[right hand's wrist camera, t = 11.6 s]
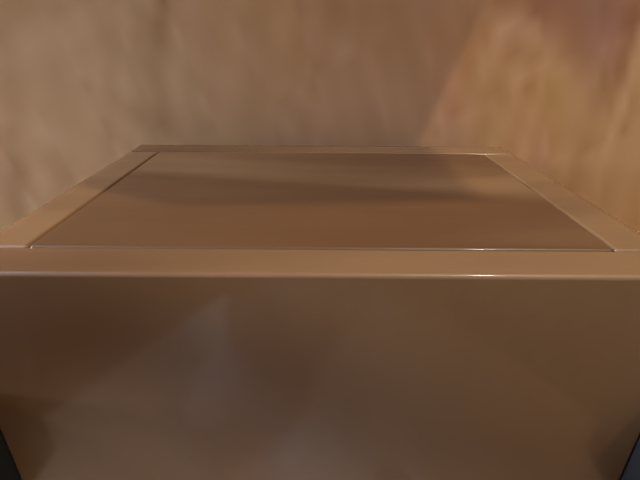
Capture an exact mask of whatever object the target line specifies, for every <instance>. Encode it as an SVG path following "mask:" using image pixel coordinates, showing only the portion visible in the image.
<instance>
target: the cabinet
mask: <svg viewBox="0 0 640 480" xmlns="http://www.w3.org/2000/svg"><path fill="white" fill-rule="evenodd" d="M0 430H1V433H2V435H3V437H4V440H5V442H6V445H7V447H8V449H9V452H10V454H11V456H12V459H13V461H14V463H15V466H16V468H17V470H18V473H19V475H20V478H21V480H620V478H621V476H622V474H623V471H624V469H625V467H626V465H627V462H628V460H629V458H630V456H631V453H632V451H633V449H634V447H635V444H636V442H637V440H638V438H639V435H640V234H639V233H637V232H636V231H634V230H633V229H631V228H629V227H628V226H626V225H625V224H623V223H621V222H620V221H618V220H617V219H615V218H613V217H612V216H610V215H609V214H607V213H605V212H604V211H602V210H601V209H599V208H597V207H596V206H594V205H592V204H591V203H589V202H588V201H586V200H584V199H583V198H581V197H580V196H578V195H576V194H575V193H573V192H572V191H570V190H568V189H567V188H565V187H564V186H562V185H560V184H559V183H557V182H556V181H554V180H552V179H551V178H549V177H548V176H546V175H544V174H543V173H541V172H540V171H538V170H536V169H535V168H533V167H531V166H530V165H528V164H527V163H525V162H523V161H522V160H520V159H519V158H517V157H515V156H514V155H512V154H511V153H509V152H507V151H506V150H504V149H503V148H501V147H361V146H216V145H141V146H139V147H137V148H136V149H134V150H133V151H131V152H130V153H128V154H126V155H125V156H123V157H122V158H120V159H118V160H117V161H115V162H113V163H112V164H110V165H108V166H107V167H105V168H104V169H102V170H100V171H99V172H97V173H95V174H94V175H92V176H91V177H89V178H87V179H86V180H84V181H82V182H81V183H79V184H78V185H76V186H74V187H73V188H71V189H69V190H68V191H66V192H64V193H63V194H61V195H60V196H58V197H56V198H55V199H53V200H51V201H50V202H48V203H47V204H45V205H43V206H42V207H40V208H38V209H37V210H35V211H33V212H32V213H30V214H29V215H27V216H25V217H24V218H22V219H20V220H19V221H17V222H16V223H14V224H12V225H11V226H9V227H7V228H6V229H4V230H3V231H1V232H0Z"/></svg>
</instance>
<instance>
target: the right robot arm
mask: <svg viewBox="0 0 640 480" xmlns="http://www.w3.org/2000/svg"><path fill="white" fill-rule="evenodd" d="M0 480H21V478H20V475H19V473H18V470H17V468H16V466H15V463H14V461H13V459H12V456H11V454H10V452H9V449H8V447H7V445H6V442H5V440H4V437H3V435H2V433H1V430H0ZM620 480H640V435H639V438H638V440H637V442H636V444H635V447H634V449H633V451H632V453H631V456H630V458H629V460H628V462H627V465H626V467H625V469H624V471H623V474H622V476H621V478H620Z"/></svg>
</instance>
